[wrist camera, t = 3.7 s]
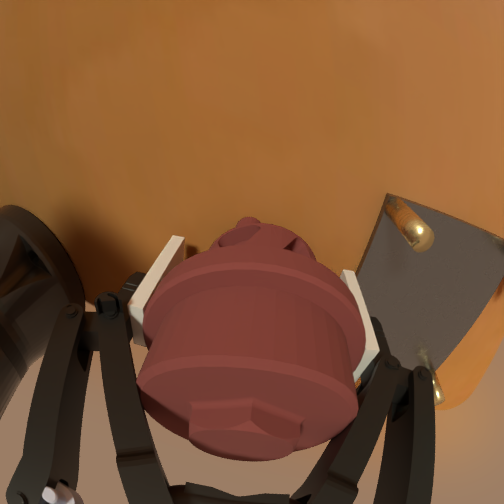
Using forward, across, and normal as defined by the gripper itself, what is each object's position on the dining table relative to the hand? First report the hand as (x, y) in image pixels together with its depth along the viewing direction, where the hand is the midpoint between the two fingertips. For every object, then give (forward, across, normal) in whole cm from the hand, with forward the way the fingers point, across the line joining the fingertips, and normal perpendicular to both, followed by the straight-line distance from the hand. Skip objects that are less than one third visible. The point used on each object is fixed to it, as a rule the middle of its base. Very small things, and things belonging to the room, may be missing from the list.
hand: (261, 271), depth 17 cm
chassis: (+1, +14, -2) cm, 14 cm away
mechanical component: (+1, 0, 0) cm, 1 cm away
